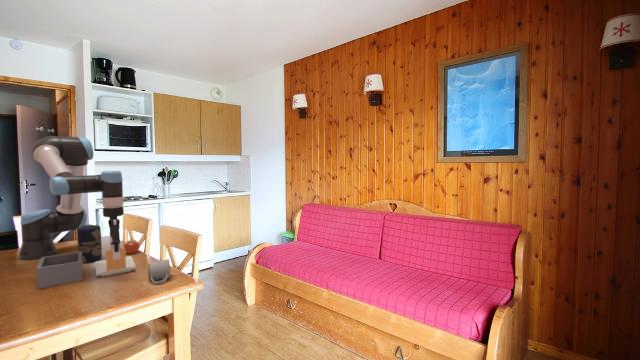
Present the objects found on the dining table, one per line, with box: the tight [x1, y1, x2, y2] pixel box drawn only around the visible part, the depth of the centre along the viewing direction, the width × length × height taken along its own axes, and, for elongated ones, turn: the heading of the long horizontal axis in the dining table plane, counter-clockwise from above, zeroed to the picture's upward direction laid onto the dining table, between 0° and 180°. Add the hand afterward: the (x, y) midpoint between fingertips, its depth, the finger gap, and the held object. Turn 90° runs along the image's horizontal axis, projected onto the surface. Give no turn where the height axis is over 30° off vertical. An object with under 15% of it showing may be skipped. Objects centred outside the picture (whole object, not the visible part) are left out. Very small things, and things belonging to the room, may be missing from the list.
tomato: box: [123, 237, 140, 255], centre depth 172 cm, size 7×7×8 cm
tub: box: [35, 251, 84, 289], centre depth 137 cm, size 18×14×8 cm
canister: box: [76, 223, 103, 263], centre depth 160 cm, size 10×10×18 cm
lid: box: [94, 246, 137, 278], centre depth 147 cm, size 19×15×11 cm
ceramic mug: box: [147, 259, 171, 285], centre depth 134 cm, size 11×8×8 cm
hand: (115, 255), depth 141 cm, fingers open, 13 cm apart
